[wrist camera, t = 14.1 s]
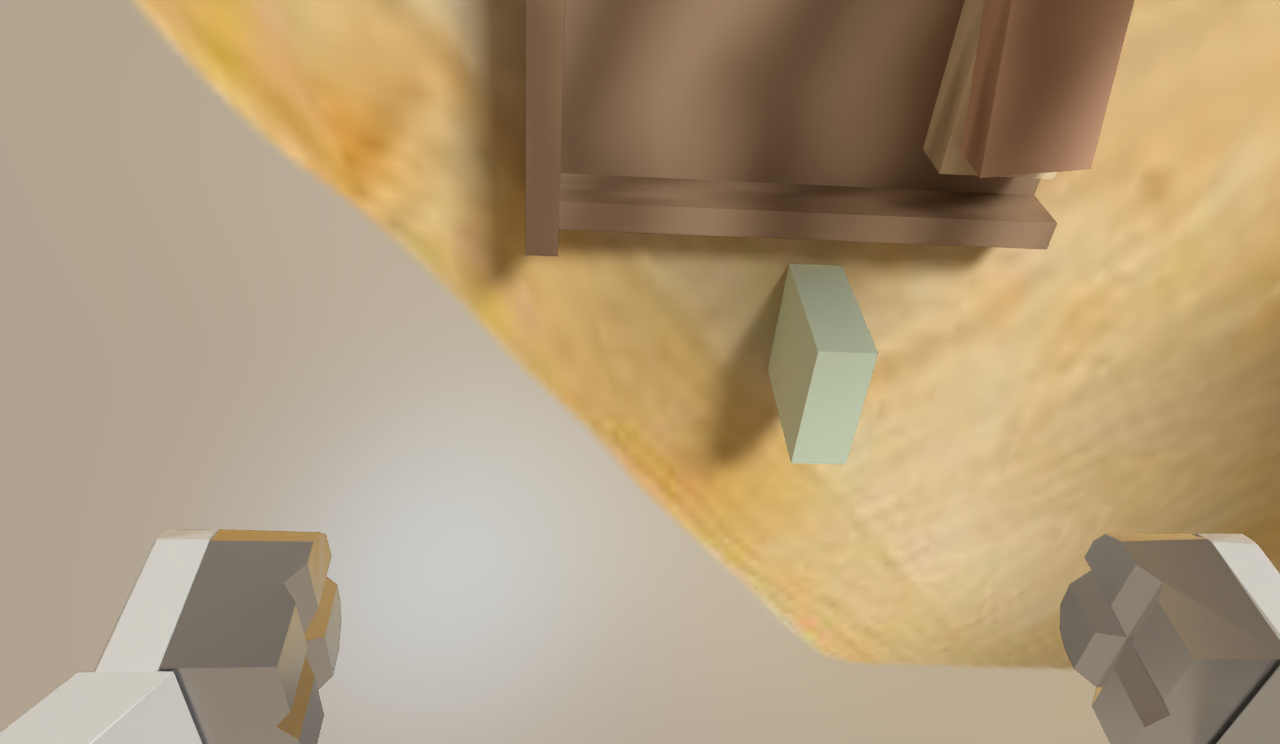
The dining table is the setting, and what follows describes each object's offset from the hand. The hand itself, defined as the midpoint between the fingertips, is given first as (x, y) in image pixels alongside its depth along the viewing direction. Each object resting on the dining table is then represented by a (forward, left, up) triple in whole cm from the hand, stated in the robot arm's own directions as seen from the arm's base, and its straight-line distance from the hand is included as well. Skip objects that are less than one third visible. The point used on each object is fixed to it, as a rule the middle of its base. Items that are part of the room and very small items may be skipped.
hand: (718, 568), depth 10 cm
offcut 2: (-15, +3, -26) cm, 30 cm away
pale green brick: (-10, +17, -29) cm, 34 cm away
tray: (-7, +4, -29) cm, 30 cm away
